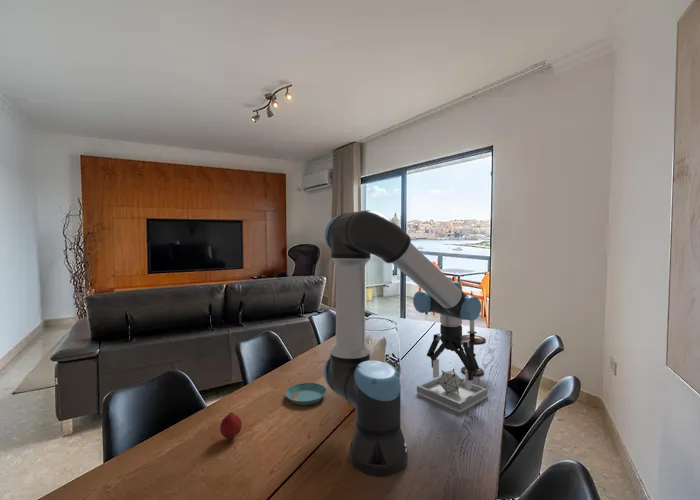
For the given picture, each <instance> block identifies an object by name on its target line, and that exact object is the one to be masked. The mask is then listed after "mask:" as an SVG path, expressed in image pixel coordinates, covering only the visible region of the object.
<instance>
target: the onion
mask: <svg viewBox="0 0 700 500" xmlns="http://www.w3.org/2000/svg"><path fill="white" fill-rule="evenodd" d="M234 412H235V411H233V410H231V411H229V413H228V414H227V415H226V416H224V418H223V419H222V420H221V422H220V426H219V431H220V434H221V435H222V436H223V438H226V439H229V440H233V439H234V438H235V437H237V436H238V435H239V434H240V432H241V430H242V426H243V423H242V420H241V418H240V417H239V416H238V415H237V414H235V413H234ZM232 438H233V439H232Z"/></svg>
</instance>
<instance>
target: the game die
mask: <svg viewBox="0 0 700 500" xmlns="http://www.w3.org/2000/svg"><path fill="white" fill-rule="evenodd" d="M441 375H442V376H441ZM441 375H440V376H441V378H440V381H439V382H437V384H438V383H439V384H440V385H441V386H442V388H443V389H444V390H445V391H446V392H447V393H446V395H448V393H451V392H458V393H459V391H458V389H459V387H460V385H461V382H462V381H465V379H462V378H461V377H460V376H459V375H458V374H457V373H456V372H455V368H453V369H452V370H448V371H444V370H441Z"/></svg>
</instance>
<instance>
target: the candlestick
mask: <svg viewBox="0 0 700 500" xmlns="http://www.w3.org/2000/svg"><path fill="white" fill-rule="evenodd" d="M473 293H474V292H473V291H472V289H471V291H470V295H472V296H474V295H473ZM477 333H478V332H476V331H475V320H472V321H470V320H469V330H468V331H467V334H464V335H463V334H462V337H461V339H462V341H470V346H471V349H472V352H473V354H474V357H475V358H476V353H475V349H474V348H475V346H476V345H477V346H478V345H484V344H486V343H487V339H486V338H485V337H482V336H481V335H475V334H477ZM466 370H467V369H466V367H465V366H462V367H461V368H460V372H461V373H462V374H463V375H465V371H466ZM484 374H485V371H484V370H483V369H482V368H481V367H479V369H478V370H476V371H474V377H482V376H484Z"/></svg>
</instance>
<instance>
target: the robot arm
mask: <svg viewBox="0 0 700 500" xmlns="http://www.w3.org/2000/svg"><path fill="white" fill-rule="evenodd" d="M324 240H325V244H326V246H328V248H329V249H330V253H331V254H330V259H331V260H332V262H333V263H334V264H335V270H336V271H335V275H336V276H335V279H336V280H335V345H334V346H333V347H332V348H331V349H330V353H329V354H330V356H329V357H328V359H327V360H326V362H325V364H324V368H323V376H324V379H325V382H326V384H327V385H328V387H329V388H330V389H331V390H332V391H333V392H334V393H335V394H336V395H338V396H340V397H341V398H343V399H344V400H345V401H347V402H348V403H349V404H351V406H353V407H354V408H355V429H354V432H353V435H352V440H351V442H350V444H349V460H350V462H351V464H352V466H353V467H354V468H355V469H357V470H358V471H360V472H362V473H364V474H367V475H369V476H374V477H375V476H377V477H380V476H381V477H383V476H391V475H394V474H396V473H398V472H400V471H402V470H403V469H404V468H405V467H406V465H407V463H408V459H409V458H408V452H409V450H408V446H407V443H406V441H405V440H406V439H405V437H404V434H403V430H402V428H401V392H402V391H401V389H402V386H401V385H402V384H401V379H400V374H399V371H398V370H397V369H396V368H395V367H394V366H393V365H391V363H388V362H384V361H379V360H377V359H376V360H373V359H372V360H371V359H370V358H371V352H370V349H369V348H368V347H367V346H366V345H365V344H366V343H365V340H366V339H365V337H366V323H365V322H366V318H365V317H366V266H367V264H368V263H369V261H370V260H371V255H373V256H376V257H377V258H379V259H381V260H382V261H383V262H384V263H386V264H392V265H393V266H395V267H396V268H397V269H398V270H399V271H400V272H402V273H403V274H405V276H407V277H408V278H409V279H410V280H411V281H412V282H413V283H414V284H416V285H417V286H418V287H419V288H421V289H422V290H419V291H416V292H415V293H414V295H413V298H412V303H413V304H412V305H413V306H414V309H415V310H416V311H417V312H419V313H420V314H428V313H435V314H439V318H440V319H439V322H440V329H439V330H440V331H439V332H440V333H436V334H433V339H432V342H431V344H430V346H429V348H428V351H427V353H426V356H427V357H429V358H430V359H431V361H430V362H431V368H432V379H434V378H436V377H439V376H440V359H439V358H438V357H439V356H440V355H441V354H442V353H443V352H444V351H445V350H447V351H448V350H449V351H451V352H454V353H455V354H456V355H457V356H458V357H459V359H460V360H461V362H462V364H463V365H464V366H463V367H466V369H467V370H466V371H465V374H464V377H465V378H464V381H465V390H469V389H471V388H472V384H473V383H472V381H473V380H474V379H475V376H474V371H476V370H478V369H479V368H480V367H479V364H478V362H477V360H476V356H475V357H474V354H473V352H472V349H471V346H470V341H462V339H461V337H462V335H463V326H462V324H463V321H469V322H470V321H472V320H474V321H475V320H477V319H478V318H479V316H480V314H481V313H482V303H481V299H480V298H479V297H477V296H474V295H473V296H472V295H471V294H466V293H465V292H464V291H463V290H462V289H463V288H462V284H461V282H459V281H456V280H451V279H449V277H447V276H446V274H445V273H443V272H442V271H441V270H440V269H439V268H438V267H437V266H436V265H435V264H434V263H433V262H432V261H431V259H429V258H428V257H426V255H424V254H423V253H422V252H421V250H419V249H418V248H417V247H416V246H415V245H413V243H412V238H411V236H410V235H409V234H408V233H407V232H406V231H404V230H403V228H402V227H400V226H399V225H398V224H396V222H394V221H393V220H391V219H390V218H388V217H386V216H385V215H384V214H382V213H380V212H377V211H374V210H368V209H367V210H360V211H353V212H343V213H341V214H339V215H337V216H334V217H333V218H332V219H330V220H329V222H328V224H327V226H325V230H324ZM440 341H441V344H440V345H439V343H440ZM438 345H439V347H438ZM437 347H438V348H437Z"/></svg>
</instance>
